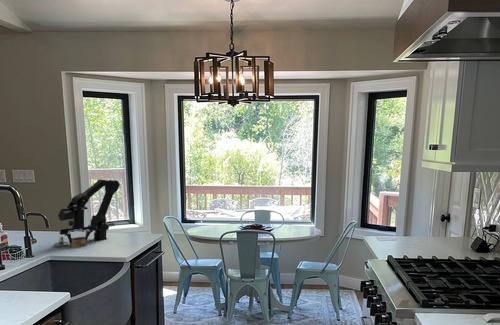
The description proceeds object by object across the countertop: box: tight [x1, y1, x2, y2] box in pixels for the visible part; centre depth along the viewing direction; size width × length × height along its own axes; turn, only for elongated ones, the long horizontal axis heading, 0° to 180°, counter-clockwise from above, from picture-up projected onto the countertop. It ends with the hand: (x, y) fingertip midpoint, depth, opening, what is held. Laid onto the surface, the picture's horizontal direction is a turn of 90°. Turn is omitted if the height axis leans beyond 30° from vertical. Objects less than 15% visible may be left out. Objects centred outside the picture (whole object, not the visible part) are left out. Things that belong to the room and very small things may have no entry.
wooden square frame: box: [70, 236, 87, 249], centre depth 174 cm, size 7×7×4 cm
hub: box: [53, 235, 69, 248], centre depth 173 cm, size 7×7×5 cm
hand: (78, 243), depth 174 cm, fingers closed on wooden square frame, 7 cm apart
